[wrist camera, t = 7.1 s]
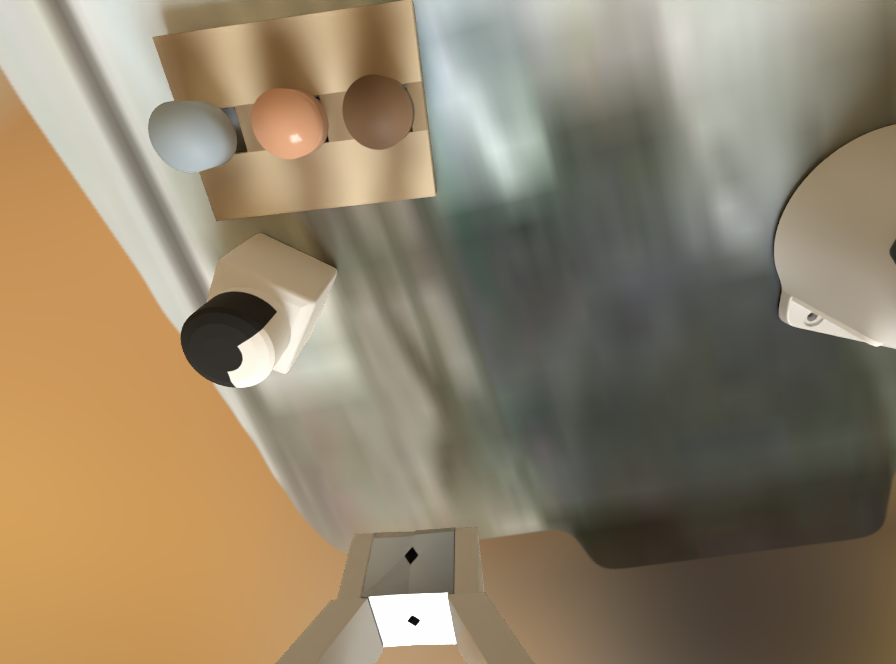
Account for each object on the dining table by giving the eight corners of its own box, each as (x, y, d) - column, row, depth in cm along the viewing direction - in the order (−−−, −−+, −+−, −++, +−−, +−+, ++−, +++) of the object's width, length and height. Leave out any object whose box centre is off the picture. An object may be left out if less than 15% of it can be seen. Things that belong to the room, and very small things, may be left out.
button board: (413, 4, 30) (410, -1, 28) (436, 190, 35) (435, 195, 34) (169, 40, 31) (152, 37, 30) (228, 214, 37) (216, 220, 35)
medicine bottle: (235, 300, 40) (155, 374, 30) (258, 230, 37) (177, 283, 27) (312, 334, 42) (261, 416, 31) (339, 268, 39) (294, 334, 28)
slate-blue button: (238, 96, 31) (201, 97, 27) (256, 158, 33) (224, 168, 28) (183, 104, 31) (137, 106, 27) (203, 165, 33) (164, 176, 29)
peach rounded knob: (328, 85, 31) (306, 84, 27) (341, 147, 33) (323, 155, 29) (272, 93, 32) (242, 92, 27) (288, 154, 34) (262, 162, 29)
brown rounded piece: (412, 73, 30) (404, 69, 26) (421, 138, 32) (414, 145, 28) (353, 81, 30) (335, 79, 26) (365, 145, 32) (350, 153, 28)
